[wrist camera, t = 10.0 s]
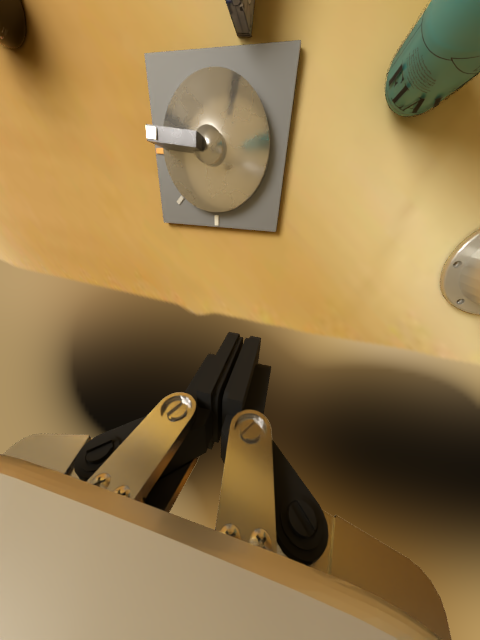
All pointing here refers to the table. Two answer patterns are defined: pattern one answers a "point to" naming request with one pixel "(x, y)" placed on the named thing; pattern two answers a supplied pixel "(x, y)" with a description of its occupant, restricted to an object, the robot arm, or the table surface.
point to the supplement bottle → (12, 23)
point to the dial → (214, 139)
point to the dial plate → (277, 99)
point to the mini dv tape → (242, 16)
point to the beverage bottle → (435, 57)
